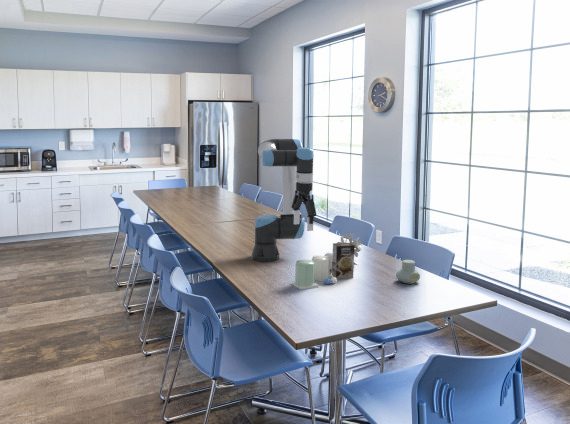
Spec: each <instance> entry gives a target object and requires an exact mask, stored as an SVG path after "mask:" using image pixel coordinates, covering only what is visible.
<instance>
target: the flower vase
mask: <svg viewBox="0 0 570 424" xmlns="http://www.w3.org/2000/svg"><path fill="white" fill-rule="evenodd" d="M355 235H356V233H353V232H349V233H348V234H347V233H346V234H345V233H344V234H342V236H341V237H340V241H337V242H336V243H351V244H353V245H355V250H354V257H355V258H358V257H359V252H362V250H363V249H362V248H361V247H362V243H361V242H360V237H359V236H358V237H357V238H355V239H354V240H353V239H352V238H353V237H354V236H355ZM347 241H349V242H347ZM332 255H333V252H326V253H325V254H324V255H323V256H327V257H329V258H330V271H332ZM354 265H359V263H358V262H357V261H355V260H354Z"/></svg>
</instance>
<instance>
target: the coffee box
mask: <svg viewBox="0 0 570 424" xmlns="http://www.w3.org/2000/svg"><path fill="white" fill-rule="evenodd" d="M355 249H356V248H355V245H353V244H351V243H350V242H346V243H337V242H336V243H335V242H334V243H332V253H333V255H332V270H331V276H332V277H335V278H336V279H337V280H339V279H353V278H354V271H355V270H354V268H355V264H354V261H355V255H354V250H355Z"/></svg>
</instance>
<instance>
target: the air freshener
mask: <svg viewBox="0 0 570 424" xmlns="http://www.w3.org/2000/svg"><path fill="white" fill-rule="evenodd" d="M395 277H396V279H397V280H398V281H399V282H401V283H404V284H408V285H412V284H416V282H418V281H419V280H420V279H421V275H420V273H419V271H418V270H417V269H416V262H415V260H412V259H404V260H402V261H401V269H399V270H398V271H396V273H395Z"/></svg>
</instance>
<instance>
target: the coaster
mask: <svg viewBox="0 0 570 424" xmlns="http://www.w3.org/2000/svg"><path fill="white" fill-rule="evenodd" d="M291 285H293V286H294V287H296V288H297V289H299V290H302V291H303V290H309V289H314V288H319V284H318V283H316V282H315V283H314V284H313V285H312V286H299V285H297V284H295V280H294V281H291Z"/></svg>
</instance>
